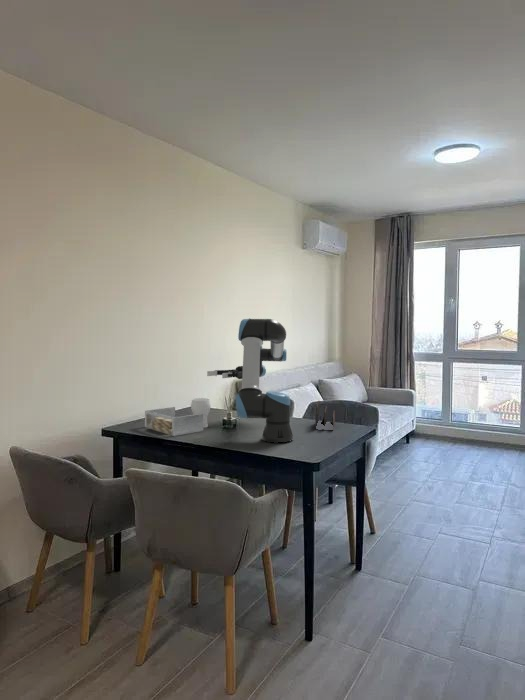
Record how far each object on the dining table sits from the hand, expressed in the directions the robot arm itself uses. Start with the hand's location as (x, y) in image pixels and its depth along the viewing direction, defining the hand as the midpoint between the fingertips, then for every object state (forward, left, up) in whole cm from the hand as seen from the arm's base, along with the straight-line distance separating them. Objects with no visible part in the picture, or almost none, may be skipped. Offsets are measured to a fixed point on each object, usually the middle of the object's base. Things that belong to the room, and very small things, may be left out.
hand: (214, 374), depth 280 cm
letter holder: (-52, -34, -28) cm, 68 cm away
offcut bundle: (+6, +33, -27) cm, 43 cm away
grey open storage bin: (+5, +27, -28) cm, 39 cm away
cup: (+2, +9, -28) cm, 30 cm away
